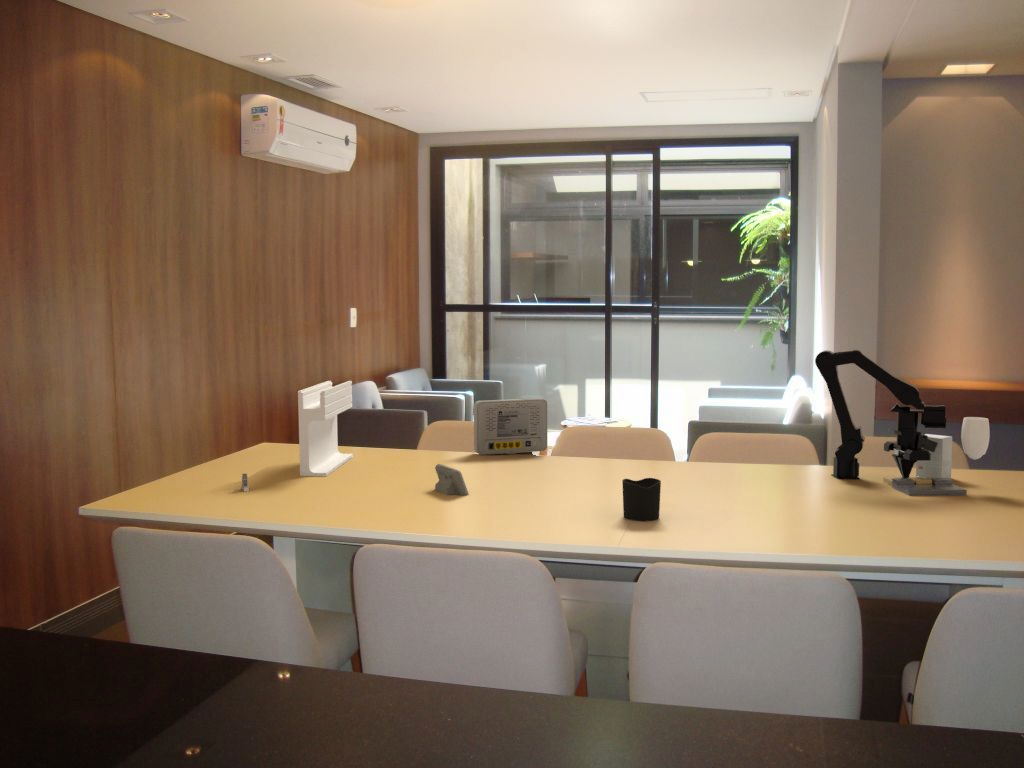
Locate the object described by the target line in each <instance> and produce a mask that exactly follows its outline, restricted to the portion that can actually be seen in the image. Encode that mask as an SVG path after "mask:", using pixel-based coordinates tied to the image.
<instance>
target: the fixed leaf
mask: <svg viewBox="0 0 1024 768" xmlns="http://www.w3.org/2000/svg"><path fill="white" fill-rule="evenodd" d="M891 478H892V486H891V488H893V489H894V490H895V491H899V492H900V493H903V494H905V495H907V496H957V497H958V496H959V497H960V496H967V491H968V490H967V489H966V488H963V487H961V486H958V485H956V484H954V483H953V482H954V481H953V480H954V479H952V478H950V479H949V478H930V479H931V480H932V484H916V485H914V480H912V479H910V478H903V477H891Z"/></svg>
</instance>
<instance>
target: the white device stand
mask: <svg viewBox="0 0 1024 768" xmlns="http://www.w3.org/2000/svg"><path fill="white" fill-rule="evenodd" d="M352 385H353V380H348V381H345V382H342V383H339V384H337V385H334V386H333V382H332V380H327V381H323V382H320V383H317V384H315V385H312V386H309V387H306V388H303V389H301V390H298V391H297V403H298V404H297V405H298V412H297V413H298V445H299V446H298V448H299V450H298V451H299V476H300V477H327V476H329V475H330V474H332V473H333V472H334V471H336V470H337V469H339V468H340V467H341V466H343V465H344V464H345V463H347V462H348V461H350V460H351V459H353V457H354V453H342V452H340V451H339V447H338V445H339V443H338V442H339V440H338V439H339V438H338V437H339V436H338V415H339V414H341V413H344V412H345V411H347V410H349V409H351V408H353V394H352V393H353V386H352Z"/></svg>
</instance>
